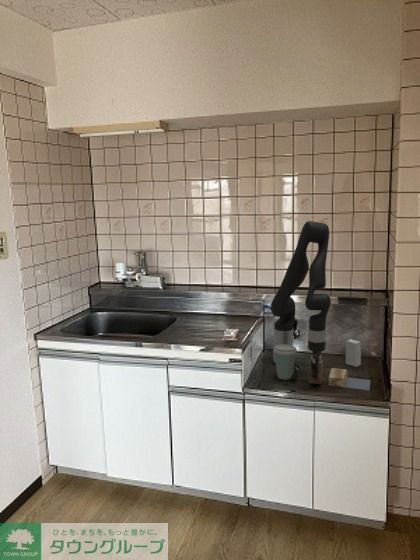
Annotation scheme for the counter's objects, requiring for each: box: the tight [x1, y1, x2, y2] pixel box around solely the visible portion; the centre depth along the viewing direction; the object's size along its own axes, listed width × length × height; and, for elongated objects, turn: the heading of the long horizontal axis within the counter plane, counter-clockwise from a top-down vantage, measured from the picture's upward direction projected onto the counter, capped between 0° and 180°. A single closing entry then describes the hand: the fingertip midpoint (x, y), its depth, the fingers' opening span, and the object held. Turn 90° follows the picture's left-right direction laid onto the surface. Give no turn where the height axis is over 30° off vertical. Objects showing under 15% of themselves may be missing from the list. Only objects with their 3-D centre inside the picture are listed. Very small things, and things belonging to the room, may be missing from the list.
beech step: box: [328, 367, 349, 388], centre depth 206 cm, size 7×11×4 cm, turn 159°
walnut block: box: [308, 358, 324, 385], centre depth 203 cm, size 5×4×10 cm
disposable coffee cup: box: [274, 344, 298, 381], centre depth 211 cm, size 11×11×15 cm
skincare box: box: [345, 338, 362, 368], centre depth 224 cm, size 6×4×12 cm
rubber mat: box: [345, 376, 372, 392], centre depth 203 cm, size 10×11×1 cm
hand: (315, 375), depth 203 cm, fingers closed on walnut block, 4 cm apart
